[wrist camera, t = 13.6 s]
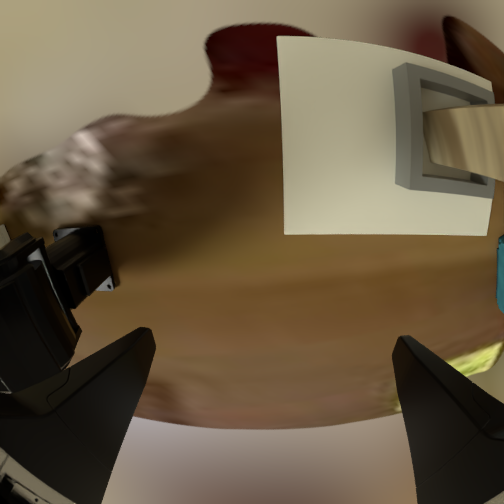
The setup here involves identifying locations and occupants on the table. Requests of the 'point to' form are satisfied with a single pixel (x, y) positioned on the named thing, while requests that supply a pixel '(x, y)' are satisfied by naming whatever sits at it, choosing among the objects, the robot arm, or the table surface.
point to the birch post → (467, 138)
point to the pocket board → (373, 141)
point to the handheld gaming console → (500, 274)
